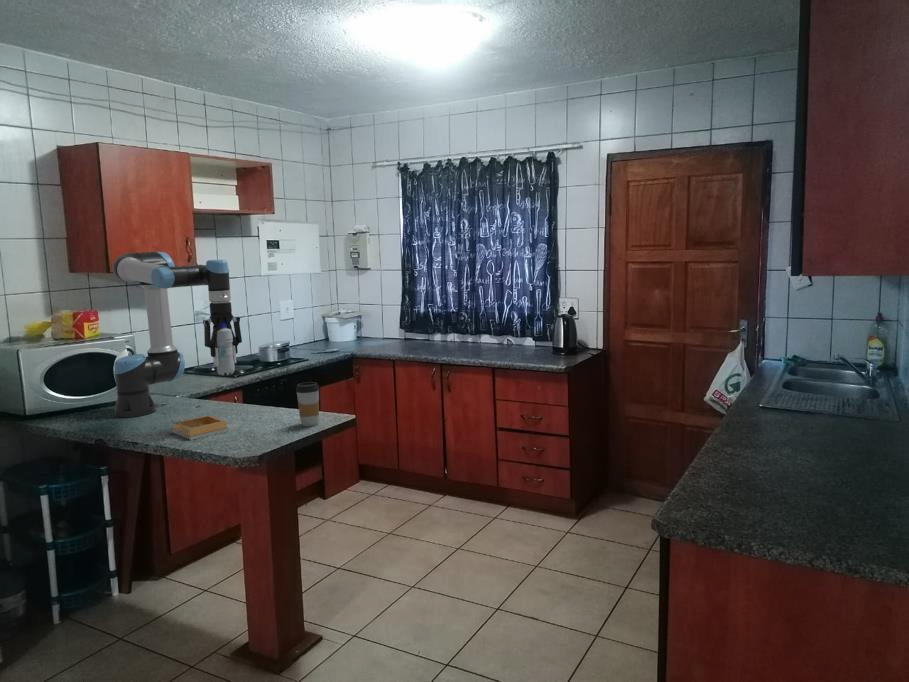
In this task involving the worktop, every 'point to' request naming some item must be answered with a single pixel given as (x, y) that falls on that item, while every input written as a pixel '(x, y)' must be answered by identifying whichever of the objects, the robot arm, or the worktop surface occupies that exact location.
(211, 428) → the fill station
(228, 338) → the bottle
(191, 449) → the worktop surface
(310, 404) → the coffee cup
